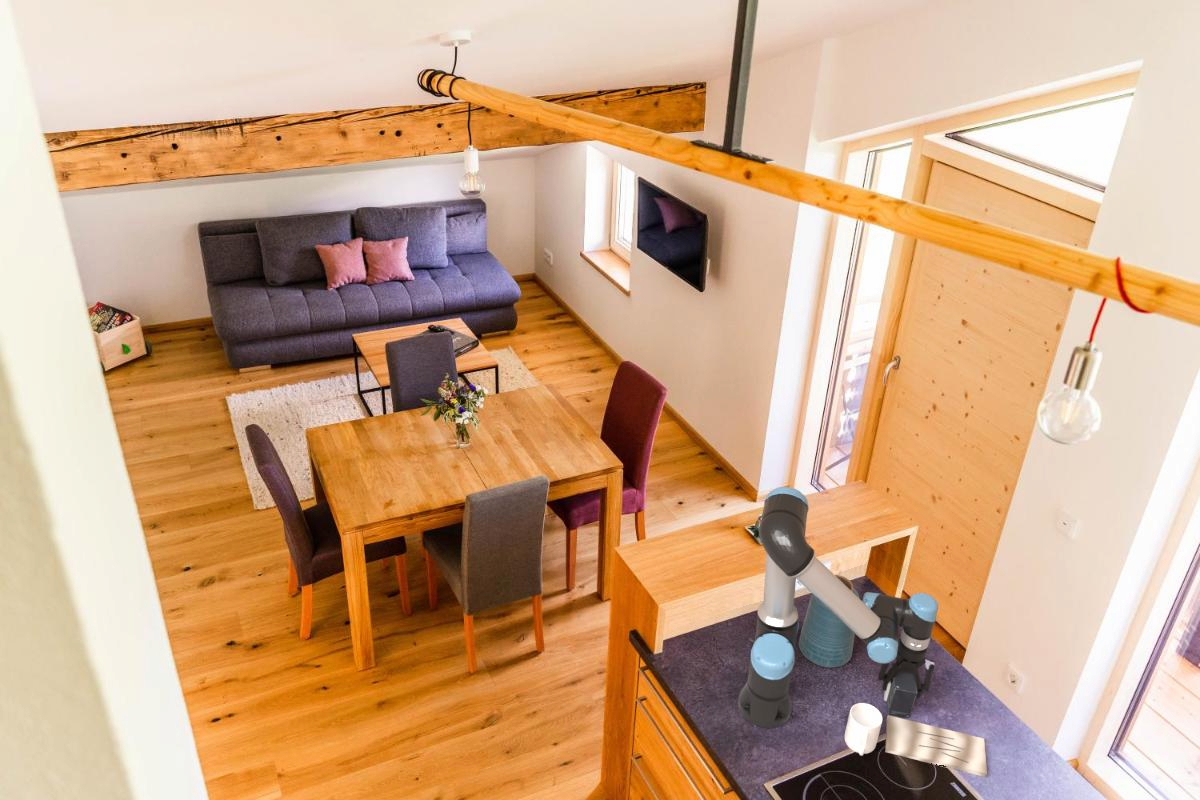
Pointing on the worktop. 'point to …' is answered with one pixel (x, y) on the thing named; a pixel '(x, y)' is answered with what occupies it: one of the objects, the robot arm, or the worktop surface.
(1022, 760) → the worktop surface
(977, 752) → the board
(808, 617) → the vase
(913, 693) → the small box
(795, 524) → the robot arm
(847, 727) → the mug
